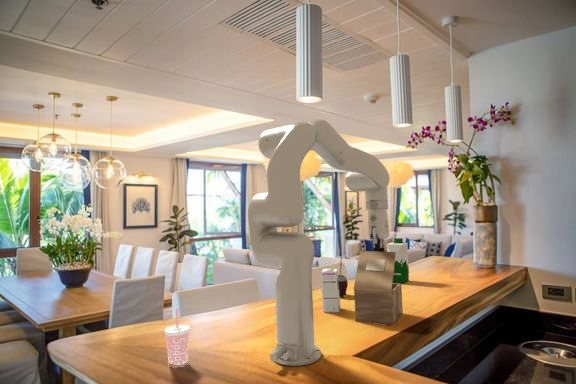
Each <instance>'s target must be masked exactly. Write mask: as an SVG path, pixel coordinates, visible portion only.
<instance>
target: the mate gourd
mask: <svg viewBox="0 0 576 384" xmlns="http://www.w3.org/2000/svg"><path fill="white" fill-rule="evenodd" d="M342 261H343V258H342V256H341V257H340V261H339V274H338V279H339V295H340V298H345V297H344V296H347V290H348V287H349V285H348V278H347V277H346V276H345V275H343V274H342V266H343V265H342Z"/></svg>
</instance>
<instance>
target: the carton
mask: <svg viewBox="0 0 576 384" xmlns="http://www.w3.org/2000/svg"><path fill="white" fill-rule="evenodd" d="M353 291H354V292H353V293H354V294H353V295H354V312H355V322H358V323H366V324H374V323H375V325H382V324H386V325H385V326H390V325H393V326H394V325H395V324H396V323H397V321H398V320H399V319H400V318H401V316H402V315H403V314H404V312H403V311H404V310H403V293H402V292H403V291H402V284H401V283H392V293H382V292H369V291H356V290H354V289H353ZM398 318H399V319H398ZM395 322H396V323H395ZM394 323H395V324H394Z"/></svg>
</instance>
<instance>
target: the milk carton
mask: <svg viewBox="0 0 576 384" xmlns="http://www.w3.org/2000/svg"><path fill="white" fill-rule="evenodd" d="M403 239H404V238H402V237H398V238H397V237H395V238H393V242H389V243H386V252H396V255H395V264H394V274H393V283H397V284H401V285H402V284H403V285H404V284H406V283H408V282H409V279H410V269H409V267H410V265H409V250H408V249H409V247H408V245H409V244H408V242H404V241H403Z"/></svg>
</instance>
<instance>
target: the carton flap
mask: <svg viewBox="0 0 576 384" xmlns="http://www.w3.org/2000/svg"><path fill="white" fill-rule="evenodd" d="M395 255H396V252H388V251H385V252H378V251H374V250H373V251H370V250H367V251H366V250H360V251H359V255H358V260H357V261H358V262H357V267H356V273H355V278H354V279H355V280H354V285H353V291H354V290H356V291H369V292H382V293H392V283H393V274H394V264H395Z"/></svg>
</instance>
